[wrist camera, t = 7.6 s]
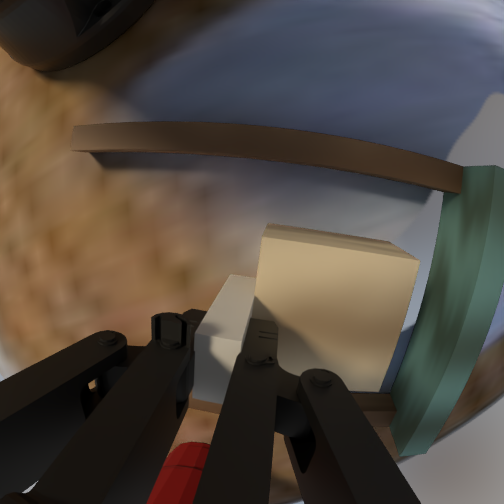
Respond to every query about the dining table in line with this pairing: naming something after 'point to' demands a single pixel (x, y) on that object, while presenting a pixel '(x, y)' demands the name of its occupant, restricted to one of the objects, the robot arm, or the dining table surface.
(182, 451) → the plastic cup
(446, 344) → the guide track
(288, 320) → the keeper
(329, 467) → the robot arm
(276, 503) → the dining table surface
